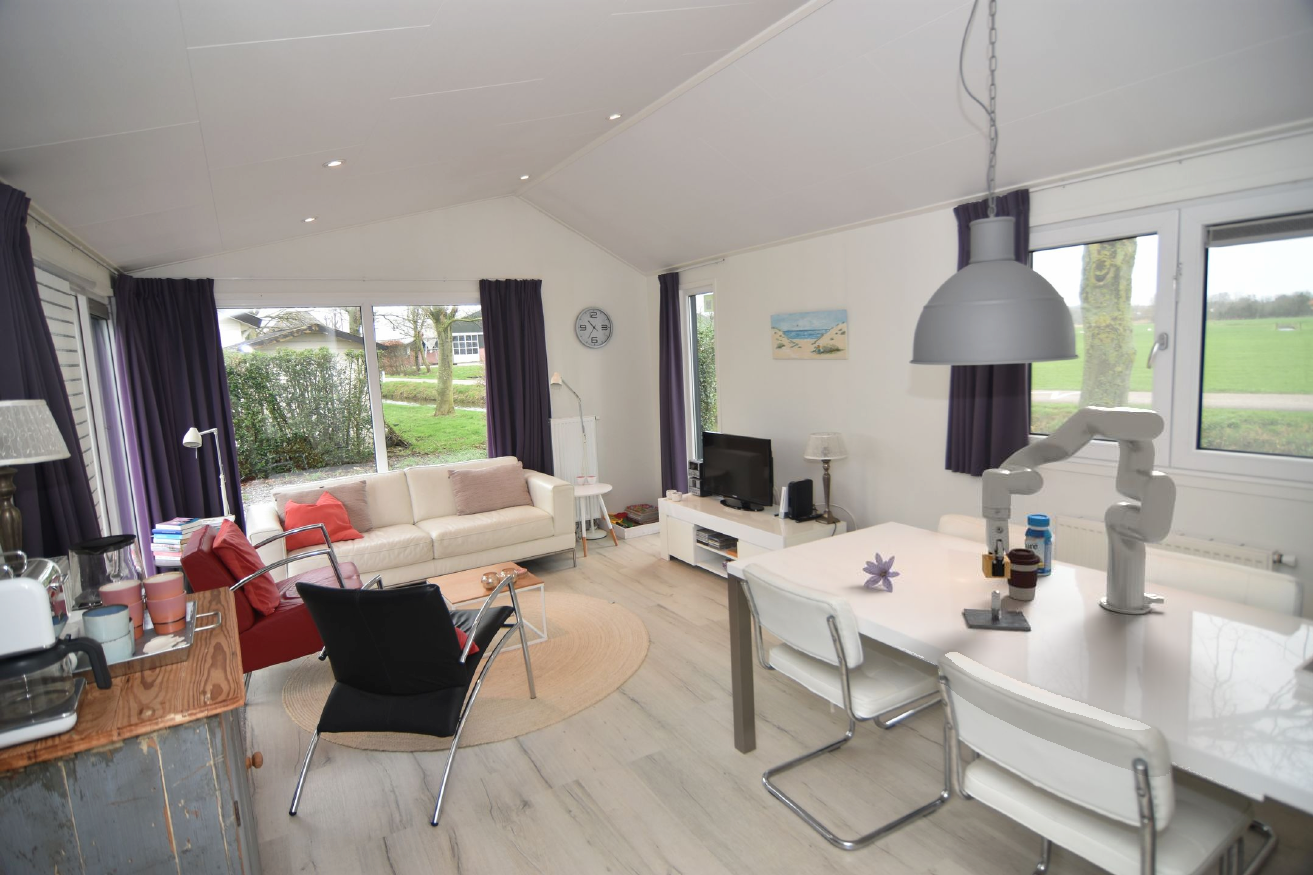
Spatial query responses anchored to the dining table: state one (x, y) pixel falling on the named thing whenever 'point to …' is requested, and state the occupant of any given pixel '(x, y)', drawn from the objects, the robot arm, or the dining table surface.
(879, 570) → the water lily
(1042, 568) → the beverage bottle
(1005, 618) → the keeper
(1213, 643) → the dining table surface
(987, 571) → the orange hollow square block
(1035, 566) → the coffee cup
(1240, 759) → the dining table surface
